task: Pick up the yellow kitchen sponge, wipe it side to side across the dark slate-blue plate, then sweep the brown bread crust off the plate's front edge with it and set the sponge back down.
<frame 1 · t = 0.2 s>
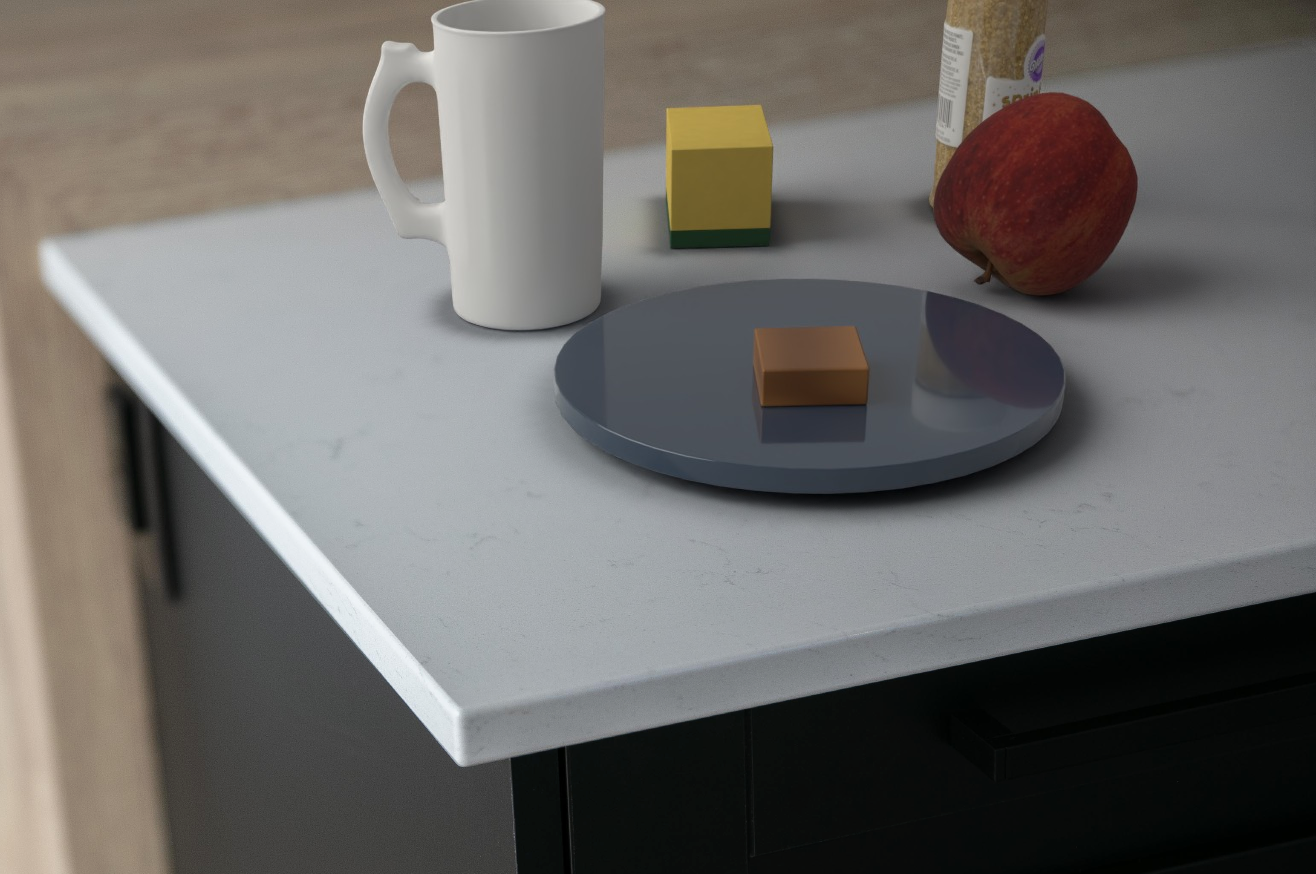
plate: (801, 401, 68), on the worktop
apple: (1024, 294, 76), on the worktop
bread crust: (808, 384, 66), point 1 cm above the worktop, touching plate
sponge: (715, 222, 86), on the worktop
mug: (489, 308, 79), on the worktop
sprinkles bottle: (977, 212, 86), on the worktop
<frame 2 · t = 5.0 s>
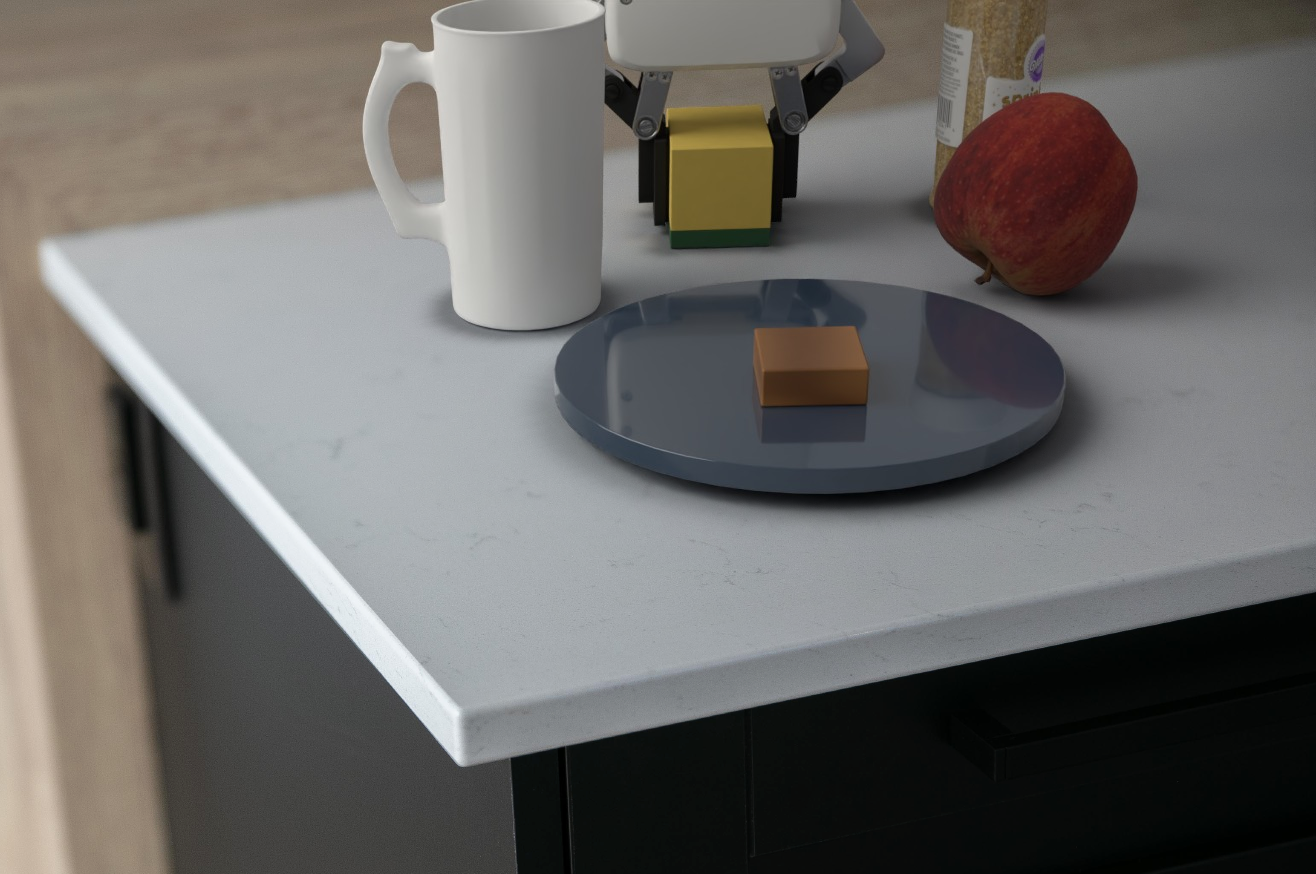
hand: (716, 211, 86), 1 cm above the worktop, tool pointing down, fingers closed on sponge, 4 cm apart
sponge: (715, 222, 86), on the worktop, touching gripper
everything else where it was.
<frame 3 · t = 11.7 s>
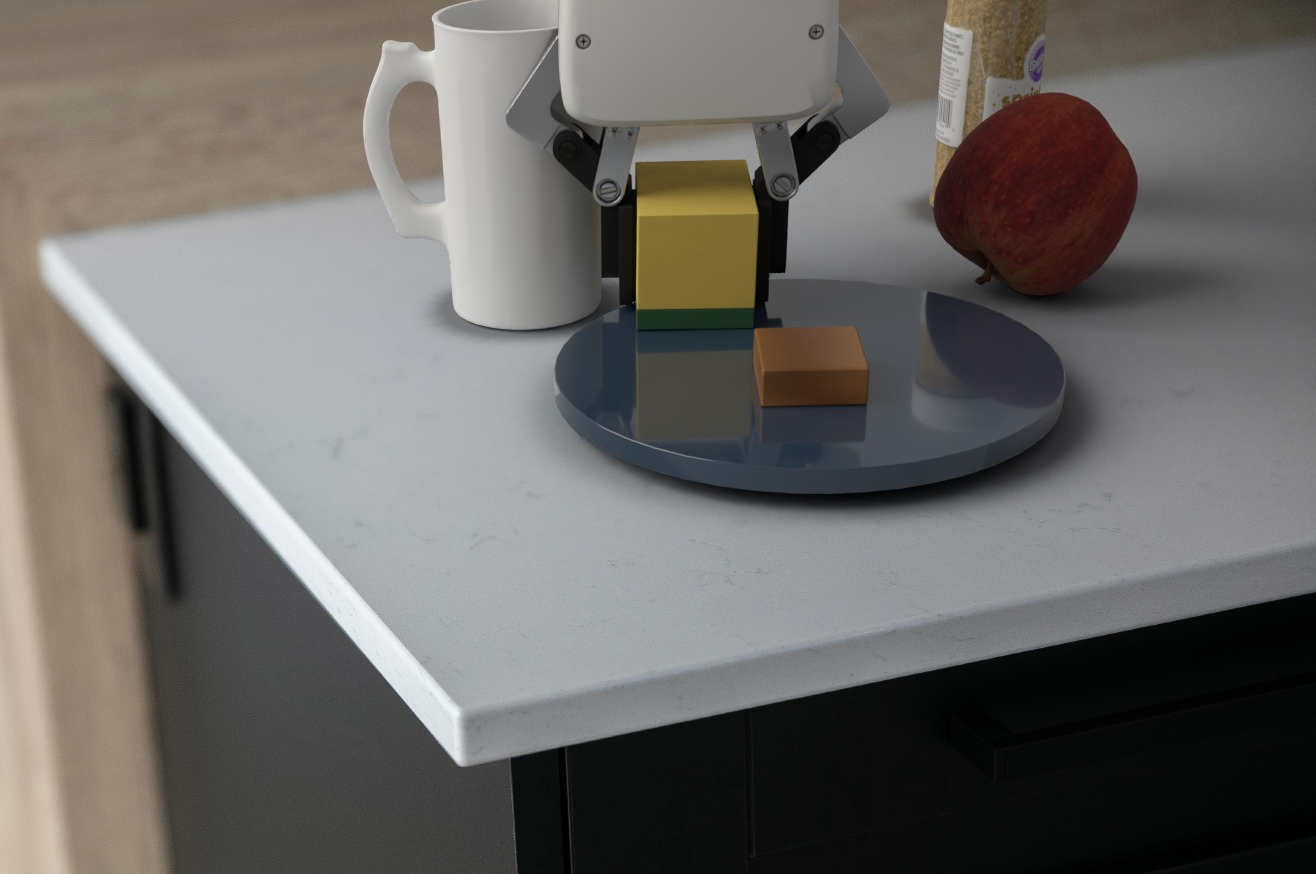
hand: (691, 287, 74), 2 cm above the worktop, tool pointing down, fingers closed on sponge, 4 cm apart
sponge: (691, 297, 74), point 2 cm above the worktop, touching gripper
mug: (489, 308, 79), on the worktop, touching gripper
everything else where it was.
when the fingers open (0 cm above the worktop, at t = 22.9 s): sponge stays where it is, on the worktop.
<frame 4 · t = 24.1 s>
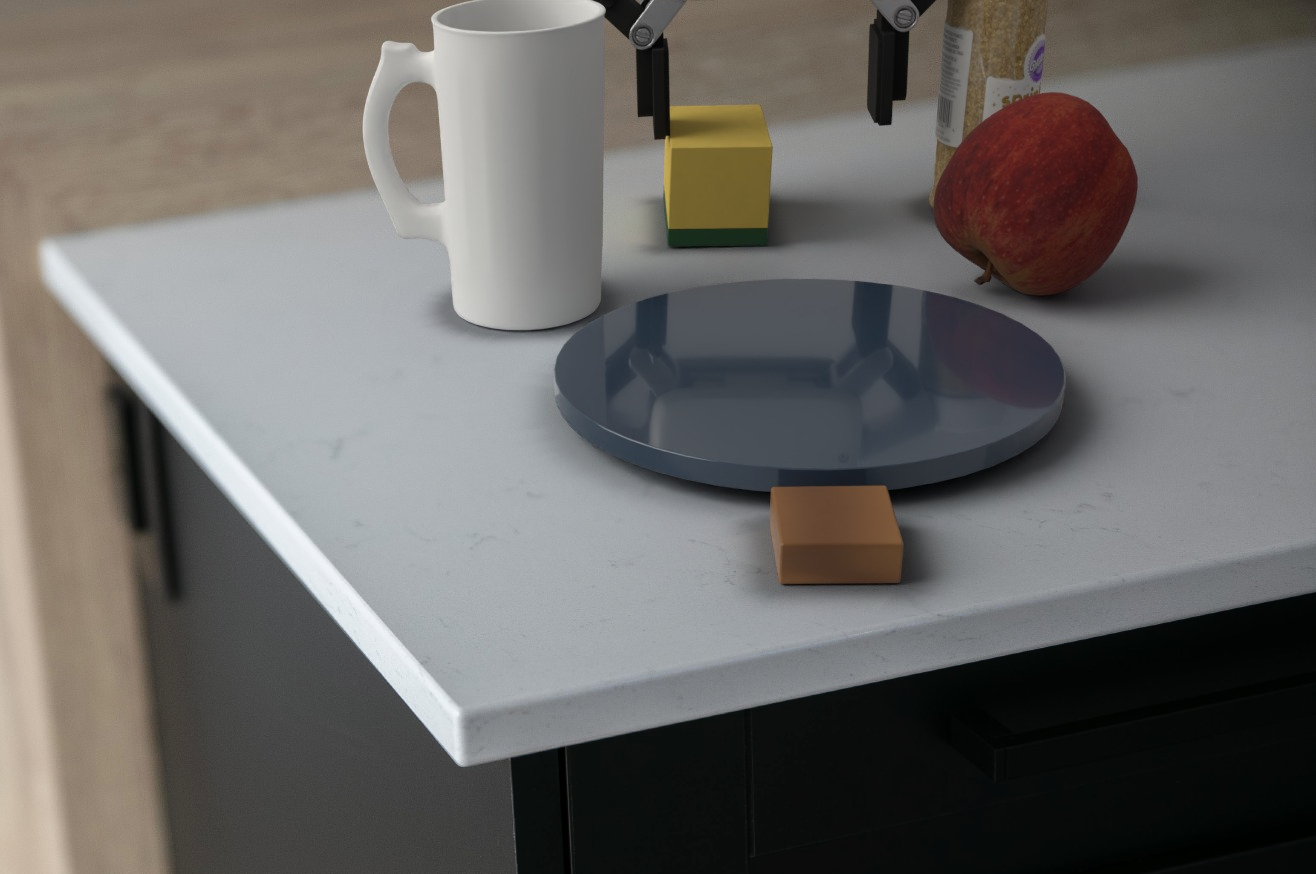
hand: (769, 125, 83), 5 cm above the worktop, tool pointing down, fingers open, 9 cm apart
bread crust: (832, 553, 58), on the worktop
sponge: (713, 222, 86), on the worktop, touching gripper
mug: (489, 308, 79), on the worktop
everything else where it was.
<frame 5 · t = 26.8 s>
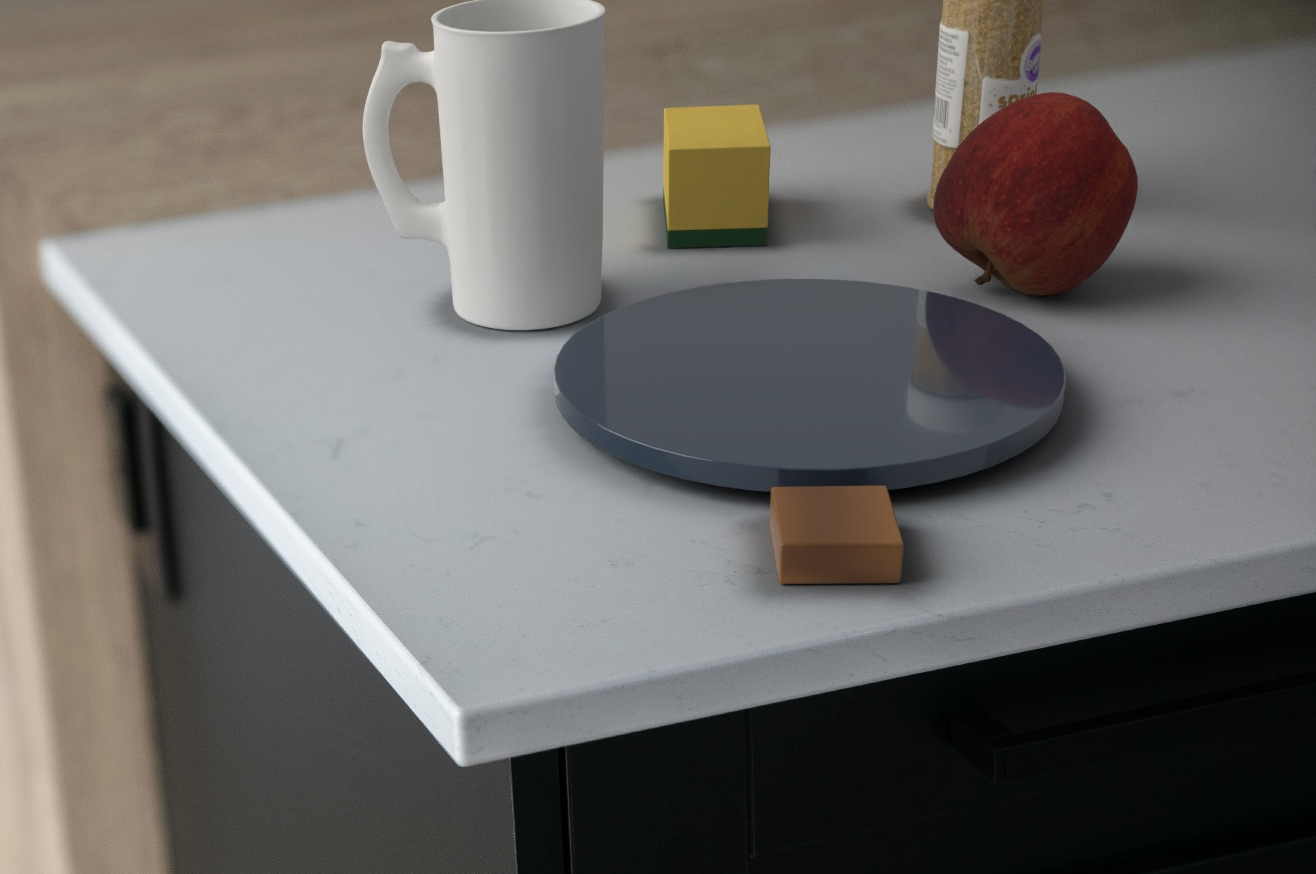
sponge: (713, 222, 86), on the worktop
everything else where it was.
at the end: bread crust inside the target area (1.1 cm from its centre), on the worktop; the gripper is holding nothing; sponge tilted 0° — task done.
